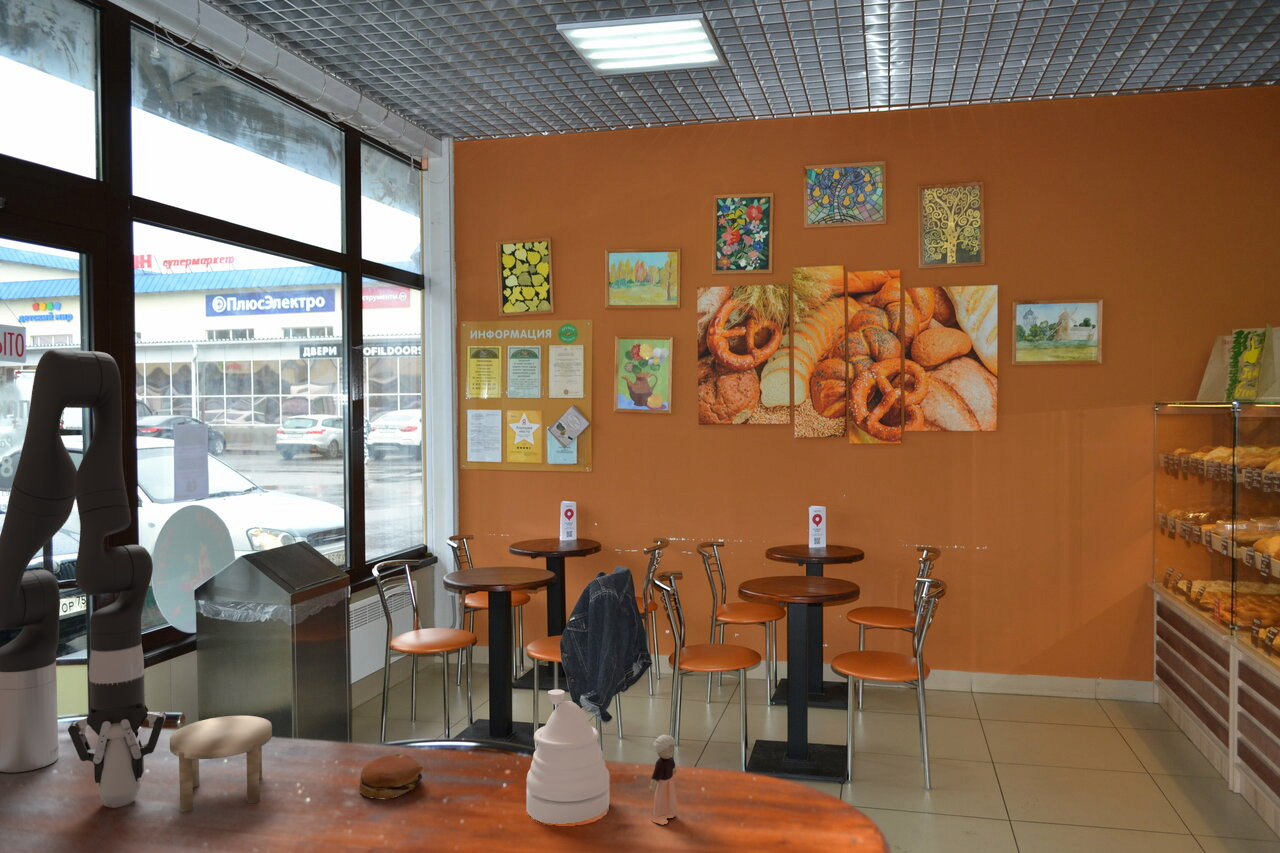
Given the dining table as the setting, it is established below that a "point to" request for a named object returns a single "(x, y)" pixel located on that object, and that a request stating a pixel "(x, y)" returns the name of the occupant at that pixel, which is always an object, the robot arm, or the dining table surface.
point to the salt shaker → (118, 771)
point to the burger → (390, 776)
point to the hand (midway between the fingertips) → (119, 781)
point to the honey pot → (567, 768)
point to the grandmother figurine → (664, 777)
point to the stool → (219, 750)
